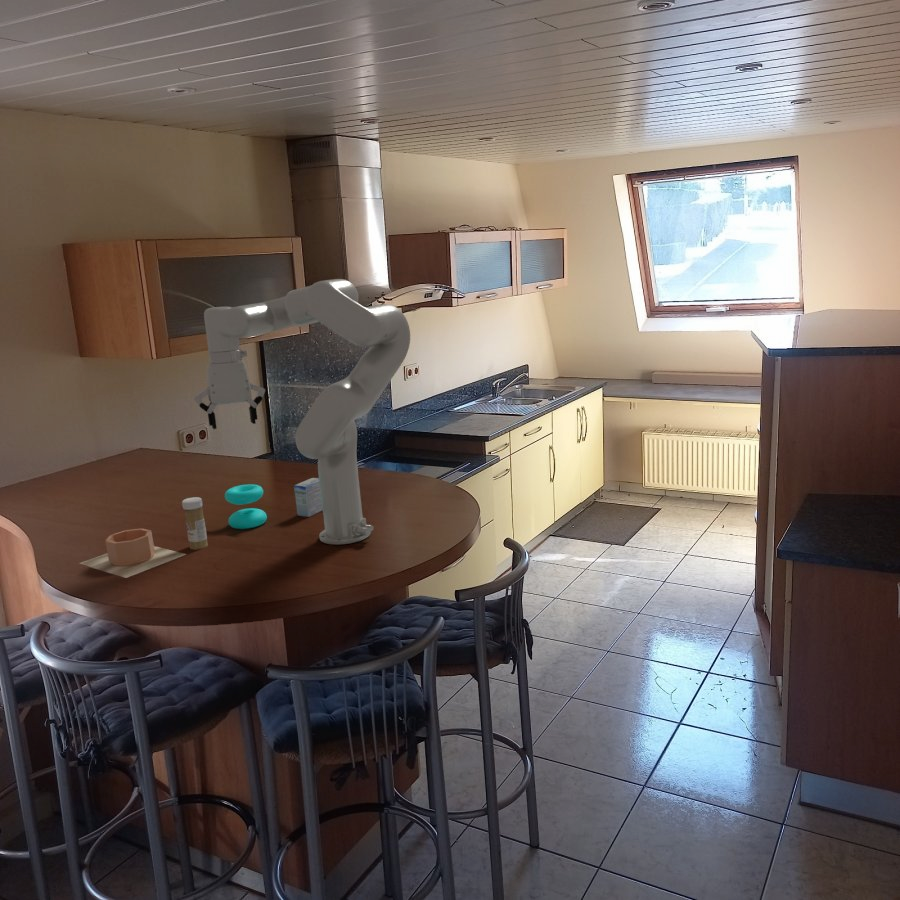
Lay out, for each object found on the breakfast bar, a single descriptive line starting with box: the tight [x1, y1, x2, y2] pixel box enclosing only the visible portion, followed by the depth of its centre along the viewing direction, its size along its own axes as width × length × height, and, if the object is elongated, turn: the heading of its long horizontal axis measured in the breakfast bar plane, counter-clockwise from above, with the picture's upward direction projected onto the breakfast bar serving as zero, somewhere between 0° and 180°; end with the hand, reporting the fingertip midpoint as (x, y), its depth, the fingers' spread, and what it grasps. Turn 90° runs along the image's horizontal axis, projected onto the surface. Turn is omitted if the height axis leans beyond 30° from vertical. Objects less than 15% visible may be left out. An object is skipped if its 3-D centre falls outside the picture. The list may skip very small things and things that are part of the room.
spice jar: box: [181, 496, 209, 551], centre depth 201 cm, size 5×5×13 cm
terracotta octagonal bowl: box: [105, 528, 155, 566], centre depth 196 cm, size 10×10×6 cm
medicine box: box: [293, 477, 323, 518], centre depth 226 cm, size 8×4×9 cm, turn 149°
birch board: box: [78, 545, 187, 579], centre depth 197 cm, size 20×16×2 cm
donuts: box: [224, 483, 268, 530], centre depth 220 cm, size 10×10×10 cm
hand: (233, 425), depth 209 cm, fingers open, 9 cm apart
